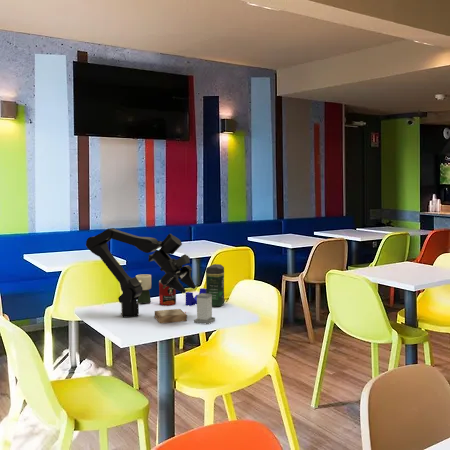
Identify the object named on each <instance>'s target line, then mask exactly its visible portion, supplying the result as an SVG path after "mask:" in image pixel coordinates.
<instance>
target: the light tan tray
mask: <svg viewBox="0 0 450 450" xmlns="http://www.w3.org/2000/svg"><path fill="white" fill-rule="evenodd" d="M154 318H155V320H157V322H158V323H159V324H167V323H168V324H169V323H178V322H179V323H180V322H187V320H188V315H187V314H186V313H185V312H184V311H183V310H182V309H181V308H172V309H161V310H154Z"/></svg>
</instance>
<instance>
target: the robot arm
mask: <svg viewBox="0 0 450 450" xmlns="http://www.w3.org/2000/svg"><path fill="white" fill-rule="evenodd" d="M111 240H115V241H118V242H121V243H125V244H128V245H130V246H134V247H135V248H136V249H138V250H139V251H141V252H143V253H144V254H148V260H147V261H148V262H151V263H152V262H155V263H156V264H157V265H158V266H159V267H160V269H159V270H160V271H161V272H164V273H165V274H164V275H163V276H162V277H161V278H160V280H161V283H162V285H163V286H164V285H166V286H168V287H170V288H173V289H175V290H176V291H177V292H180V293H183V294H186V292H187V291H186V289H185V288H184V286H183V283H184V284H185V285H186V286H188V287H189V288H191V289H193V290H195V289H196V288H197V286H196V285H195V282H194V279H193V278H192V272H193V268H192V267H191V266H190V265H187V264H190V263H191V261H190V259H191V258H190V256H189V255H187V254H185V253H184V254H182V255H181V256H180V257H179V258H172V257H171V256H170V255H174V253H176V252H177V251H178V249H179V248H180V247H181V246H183V243H182V241H181V239H180V238H178V237H176V235H173V234H172V233H169V234H167V235H166V237H165V238H164V239H163V240H162V241H161V240H158V239H157V238H155V237H150V236H138V235H135V234H132V233H128V232H125V231H123V230H122V231H121V230H118V229H117V228H114V227H111V228H107V229H105V230H103V231H102V232H100V233H98V234H96V235H94V236H90V237H88V238H87V239H86V241H85V247H86V248H87V250H89V251H90V252H91V253H92V254H93V255H95V256H97V257H98V258H100V260H102V262H103V263H104V265H105V266H106V267H107V268H108V270H109V272H111V274H112V275H113V276H114V278H115V279H116V280H117V281H118V283H119V286H120V290H121V292H122V293H121V294H120V295H119V296H118V298H117V299H118V301H119V303H120V306H121V309H120V310H121V312H120V315H121V317H122V318H133V317H139V313H140V312H139V303H138V302H137V299H139V296H140V295H141V294H142V289H143V288H142V286H141V283H140V282H139V281H138V279H137V278H136V276H135V277H131V276H129V274H128V272H126V271H125V269H124V268H123V267H122V265H121V263H119V262H118V260H117V259H116V258H115V256H114V255H113V254H112V253H111V251H110V249H109V246H108V242H110V241H111ZM149 253H152V254H149ZM181 282H182V283H181ZM167 283H168V284H167Z"/></svg>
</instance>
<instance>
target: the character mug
mask: <svg viewBox="0 0 450 450" xmlns="http://www.w3.org/2000/svg"><path fill="white" fill-rule="evenodd" d="M135 277H136V278H137V279H138V281H139V282H140V283H141V286H142V288H143V289H142V294H141V295H140V296H139V299H137V303H138V304H140V303H143V304H144V303H145V304H146V303H148V304H149V303H151V302H152V301H151V299H152V298H151V294H150V290H151V289H152V274H141V273H140V274H137V275H135Z"/></svg>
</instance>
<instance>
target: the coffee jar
mask: <svg viewBox="0 0 450 450" xmlns="http://www.w3.org/2000/svg"><path fill="white" fill-rule="evenodd" d="M205 278H206V279H205V280H206V283H205V284H206V285H205V289H206V294H212V308H215V307H222V306H223V305H224V304H225V266H223V265H222V264H217V263H215V264H211V265H209V266H208V267H206V268H205Z"/></svg>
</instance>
